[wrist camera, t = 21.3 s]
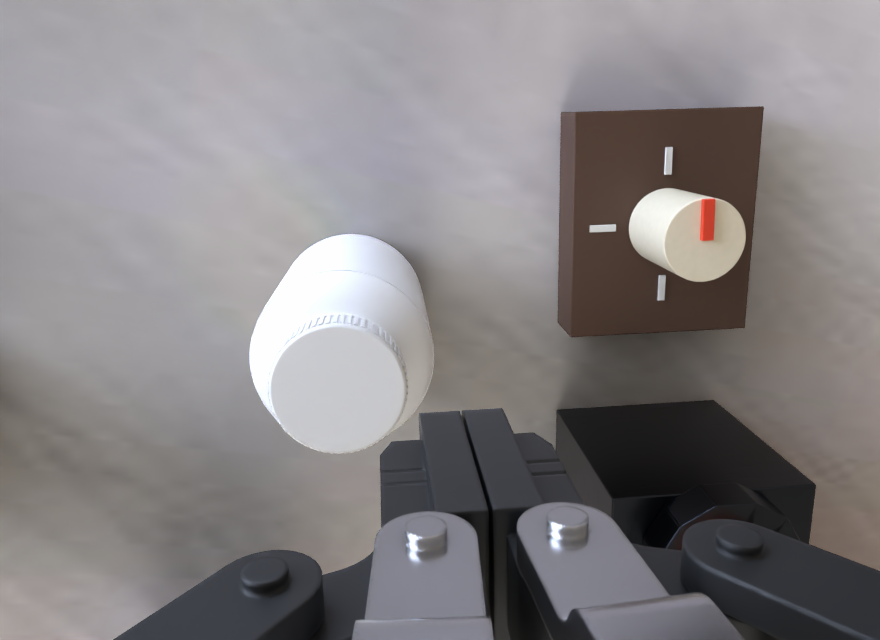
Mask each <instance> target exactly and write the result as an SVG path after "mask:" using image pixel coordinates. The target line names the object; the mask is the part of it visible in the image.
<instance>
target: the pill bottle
mask: <svg viewBox="0 0 880 640" xmlns="http://www.w3.org/2000/svg"><path fill="white" fill-rule="evenodd" d="M249 359H250V369H251V375H252V379H253V382H254V385H255V387H256V390H257V392H258V394H259V396H260V398H261V400H262V402H263V403H264V405H265V406H266V408H267V409H268V411H269V412H270V413H271V414H272V415H273V416H274V418H275V419H276V420H277V422H278V423H280V426H281V427H282V428H283V429H284V431H285V432H286V433H288V434H289V436H290V437H292V438H294V440H295V441H297V442H299V443H300V444H302V445H305V446H306V447H308V448H311V449H313V450H316V451H319V452H326V453H333V454H344V453H351V452H357V451H359V450H360V451H361V450H364V449H365V448H369V447H370V446H371V445H375V444H376V443H377V442H379V441H381V440H382V438H383V437H384V438H385V437H386V436H387V435H388V434H389V433H391V432H393V431H394V430H396V429H397V428H398V427H400V426H401V425H402V424H403V423H404V422H406V421H407V420H408V419H409V418H410V416H411V415H412V414H413V413H414V412H415V411H416V409H417V408H418V407H419V405H420V404H421V402H422V401H423V399H424V397H425V395H426V393H427V391H428V388H429V386H430V383H431V379H432V375H433V369H434V345H433V339H432V334H431V329H430V325H429V320H428V316H427V311H426V307H425V303H424V298H423V294H422V289H421V285H420V282H419V279H418V277H417V275H416V273H415V271H414V269H413V268H412V266H411V265H410V263H409V262H408V261H407V260H406V259H405V257H404V256H403V255H402V254H401V253H399V252H398V251H397V250H396V249H395V248H393V247H392V246H390V245H389V244H387V243H385V242H383V241H381V240H379V239H376V238H373V237H370V236H366V235H360V234H343V235H337V236H333V237H329V238H327V239H324V240H322V241H320V242H318V243H316V244H314V245H312V246H311V247H309V248H308V249H307V250H305V251H304V252H303V253H302V254H301V255H300V256H299V257H298V258H297V259H296V260H295V262H294V263H293V264H292V266H291V267H290V269H289V270H288V272H287V274H286V275H285V277H284V278H283V280H282V281H281V283H280V284H279V286H278V287H277V289H276V291H275V292H274V294H273V295H272V297H271V298H270V300H269V301H268V303H267V304H266V306H265V308H264V309H263V311H262V313H261V314H260V316H259V318H258V320H257V323H256V325H255V328H254V331H253V334H252V338H251V343H250V354H249Z"/></svg>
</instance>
